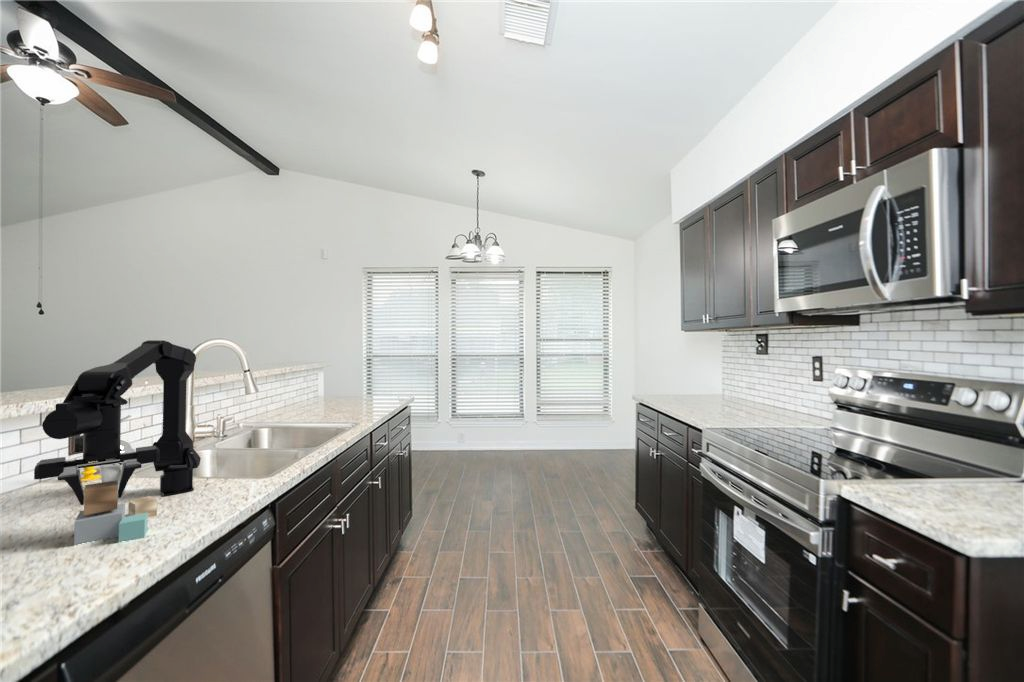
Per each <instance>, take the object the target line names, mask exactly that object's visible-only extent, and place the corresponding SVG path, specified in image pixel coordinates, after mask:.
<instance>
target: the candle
mask: <svg viewBox="0 0 1024 682" xmlns="http://www.w3.org/2000/svg"><path fill="white" fill-rule="evenodd" d="M96 462H98V461H96ZM88 463H90V462H88ZM96 472H97V469H95V466H93V467H86V468H83V471H80V475H82V477H81V481H87V480H94V479H98V478H100V479H101V474H100V475H99V474H95V473H96ZM98 480H99V479H98ZM94 481H95V480H94Z"/></svg>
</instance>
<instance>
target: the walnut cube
mask: <svg viewBox="0 0 1024 682" xmlns="http://www.w3.org/2000/svg"><path fill="white" fill-rule="evenodd" d="M83 494H84V505H83V511H84V515H89V514H94V513H99V512H104V511H110V510H115V509H117V505H118V500H119V498H118V480H115V481H109V482H102V481H101V482H96V483H91V484H85V485H84V489H83Z"/></svg>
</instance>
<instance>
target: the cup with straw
mask: <svg viewBox="0 0 1024 682" xmlns="http://www.w3.org/2000/svg"><path fill="white" fill-rule="evenodd" d="M131 417H132V416H131V415H130V414H129V415H127V416H125V417H122V418H121V422H123V421H125V420H128V419H129V418H131ZM131 452H136V448H132V446H131V443H129V442H127V441H125V440H122V439H120V454H124V453H131ZM112 460H113V459H112ZM123 463H124V462H121V463H114V464H107V465H100V466H98V467H99V473H100V476H101V478H100V481H101V483H102V482H109V481H115V480H118V489H119V483H120V478H121V473H122V466H123Z"/></svg>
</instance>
